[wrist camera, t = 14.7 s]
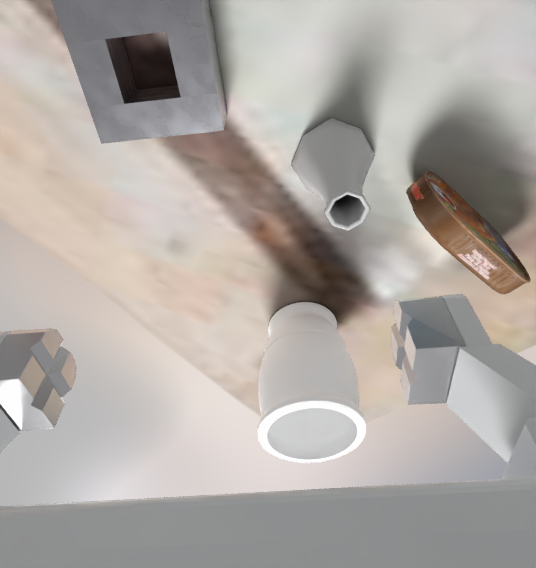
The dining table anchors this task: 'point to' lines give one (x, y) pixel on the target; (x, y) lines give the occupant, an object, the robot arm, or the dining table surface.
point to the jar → (308, 388)
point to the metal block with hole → (118, 76)
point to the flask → (336, 170)
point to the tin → (465, 234)
